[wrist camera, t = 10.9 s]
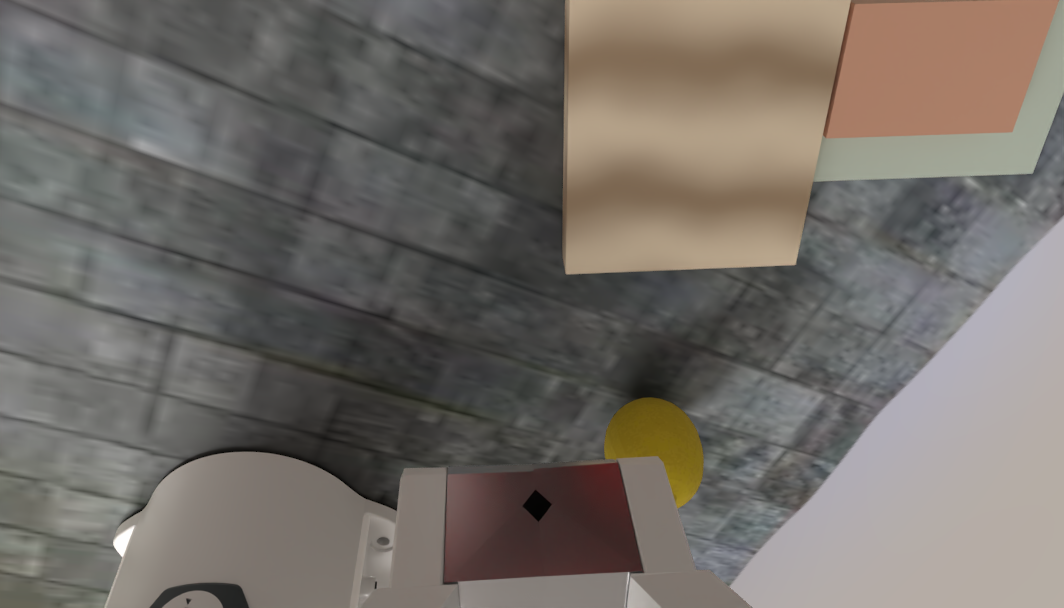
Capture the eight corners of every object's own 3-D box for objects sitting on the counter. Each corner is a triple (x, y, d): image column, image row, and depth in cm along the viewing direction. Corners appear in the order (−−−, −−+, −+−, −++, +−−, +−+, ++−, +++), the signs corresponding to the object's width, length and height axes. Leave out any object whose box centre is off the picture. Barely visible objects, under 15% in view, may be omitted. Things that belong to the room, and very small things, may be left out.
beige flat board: (782, 246, 41) (795, 265, 39) (562, 255, 40) (566, 274, 39) (869, -196, 30) (891, -197, 28) (567, -192, 29) (572, -192, 28)
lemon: (592, 439, 48) (610, 541, 41) (601, 370, 45) (622, 469, 38) (678, 438, 48) (709, 539, 42) (691, 370, 45) (728, 468, 39)
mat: (1026, 169, 39) (1032, 173, 39) (799, 177, 39) (803, 181, 38) (1144, -143, 31) (1153, -142, 31) (862, -138, 31) (867, -137, 31)
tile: (994, 121, 37) (1012, 132, 36) (814, 127, 37) (826, 138, 35) (1038, -9, 34) (1059, -2, 32) (841, -4, 33) (855, 4, 32)
